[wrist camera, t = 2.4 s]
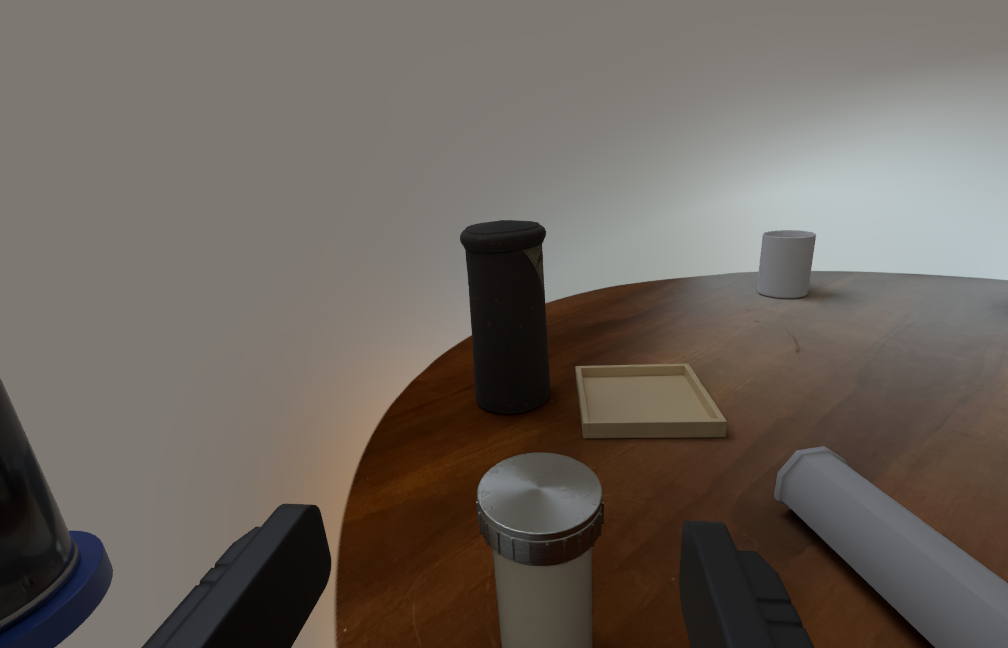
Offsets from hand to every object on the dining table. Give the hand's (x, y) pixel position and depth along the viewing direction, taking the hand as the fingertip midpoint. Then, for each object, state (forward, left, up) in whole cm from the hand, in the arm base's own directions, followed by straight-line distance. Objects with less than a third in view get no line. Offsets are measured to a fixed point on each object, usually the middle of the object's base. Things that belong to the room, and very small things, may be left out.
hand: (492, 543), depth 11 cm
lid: (+1, +11, -7) cm, 13 cm away
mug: (+43, +81, -18) cm, 93 cm away
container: (-3, +41, -18) cm, 45 cm away
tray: (+11, +39, -18) cm, 44 cm away
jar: (+1, +11, -18) cm, 21 cm away
